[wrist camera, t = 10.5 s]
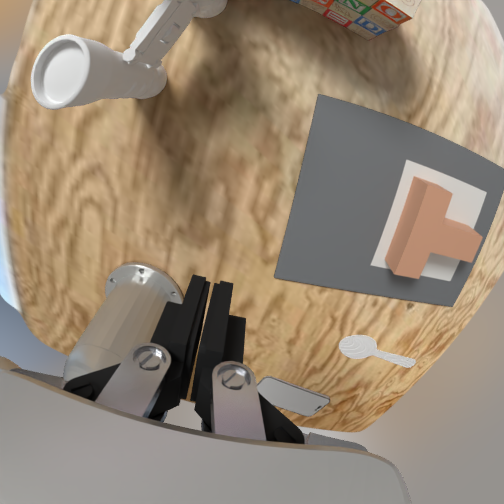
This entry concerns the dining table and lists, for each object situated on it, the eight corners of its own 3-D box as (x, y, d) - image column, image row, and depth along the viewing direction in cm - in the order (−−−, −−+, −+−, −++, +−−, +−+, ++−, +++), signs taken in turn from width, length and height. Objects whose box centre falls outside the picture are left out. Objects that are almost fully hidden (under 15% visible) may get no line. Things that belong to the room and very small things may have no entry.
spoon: (404, 371, 51) (405, 373, 51) (331, 350, 48) (331, 352, 48) (422, 353, 49) (423, 355, 48) (349, 328, 46) (350, 330, 46)
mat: (451, 305, 43) (452, 306, 43) (274, 276, 42) (274, 277, 41) (507, 171, 32) (509, 171, 32) (318, 94, 31) (318, 94, 30)
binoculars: (153, 109, 32) (65, 122, 16) (120, 88, 31) (20, 92, 15) (240, -5, 26) (218, -83, 10) (203, -23, 24) (156, -100, 8)
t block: (448, 272, 40) (459, 286, 36) (384, 259, 39) (394, 274, 36) (477, 200, 34) (493, 210, 31) (413, 175, 34) (427, 184, 30)
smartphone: (266, 375, 51) (332, 400, 53) (266, 370, 52) (332, 395, 54) (246, 395, 54) (309, 417, 56) (246, 391, 55) (309, 413, 57)
